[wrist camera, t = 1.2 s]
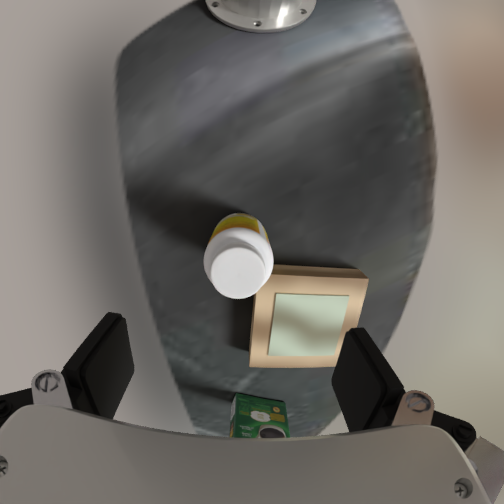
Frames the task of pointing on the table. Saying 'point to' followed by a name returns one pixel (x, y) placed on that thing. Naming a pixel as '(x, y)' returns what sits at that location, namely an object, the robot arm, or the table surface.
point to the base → (304, 315)
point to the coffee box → (258, 418)
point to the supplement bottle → (238, 256)
